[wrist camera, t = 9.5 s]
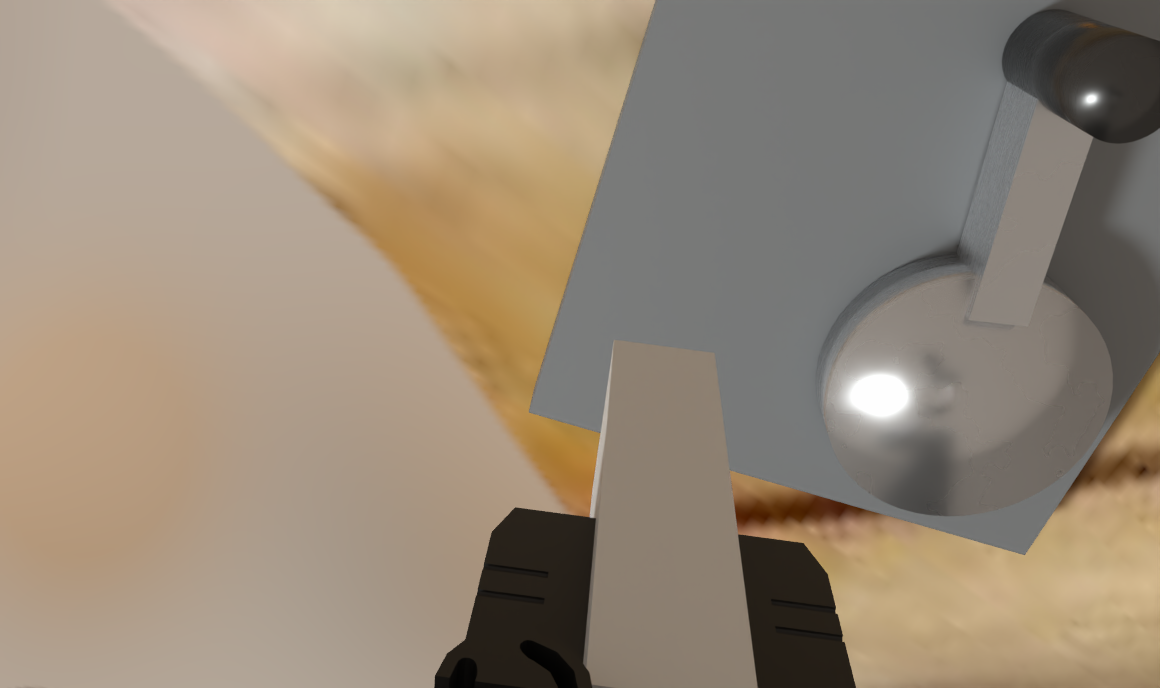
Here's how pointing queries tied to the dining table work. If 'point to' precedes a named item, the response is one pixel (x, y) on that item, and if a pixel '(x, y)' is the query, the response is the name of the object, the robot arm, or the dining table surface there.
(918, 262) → the cam lever
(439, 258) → the dining table surface
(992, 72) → the stand
